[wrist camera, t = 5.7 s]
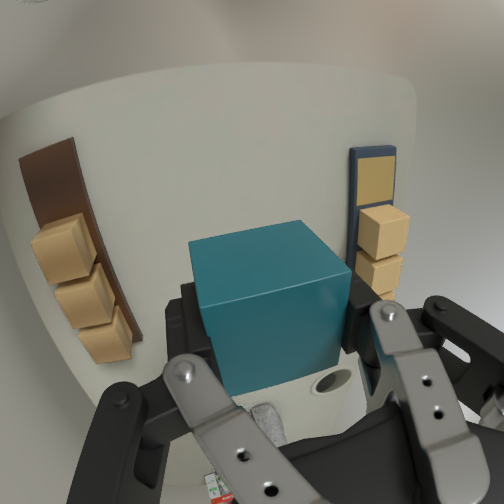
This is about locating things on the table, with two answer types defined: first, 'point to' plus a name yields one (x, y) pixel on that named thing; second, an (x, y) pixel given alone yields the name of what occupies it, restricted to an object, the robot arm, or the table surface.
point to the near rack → (77, 253)
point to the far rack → (375, 220)
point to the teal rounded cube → (270, 303)
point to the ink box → (218, 489)
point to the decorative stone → (270, 423)
